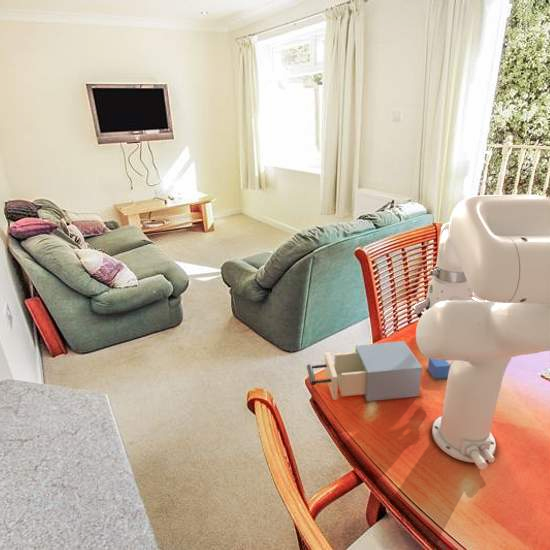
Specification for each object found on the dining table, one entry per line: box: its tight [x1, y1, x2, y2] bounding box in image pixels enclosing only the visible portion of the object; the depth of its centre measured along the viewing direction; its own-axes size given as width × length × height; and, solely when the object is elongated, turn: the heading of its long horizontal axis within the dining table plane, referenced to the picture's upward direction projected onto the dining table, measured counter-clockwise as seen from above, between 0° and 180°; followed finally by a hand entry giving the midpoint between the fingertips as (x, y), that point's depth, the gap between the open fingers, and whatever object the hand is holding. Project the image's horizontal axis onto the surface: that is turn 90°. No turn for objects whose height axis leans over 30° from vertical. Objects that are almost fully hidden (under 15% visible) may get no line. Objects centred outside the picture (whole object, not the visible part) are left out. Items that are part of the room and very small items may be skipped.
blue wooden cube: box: [427, 358, 451, 380], centre depth 102 cm, size 4×4×4 cm
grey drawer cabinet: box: [354, 340, 423, 402], centre depth 99 cm, size 14×12×9 cm
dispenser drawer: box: [306, 351, 367, 401], centre depth 98 cm, size 18×10×7 cm, turn 94°
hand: (443, 332), depth 98 cm, fingers open, 9 cm apart
